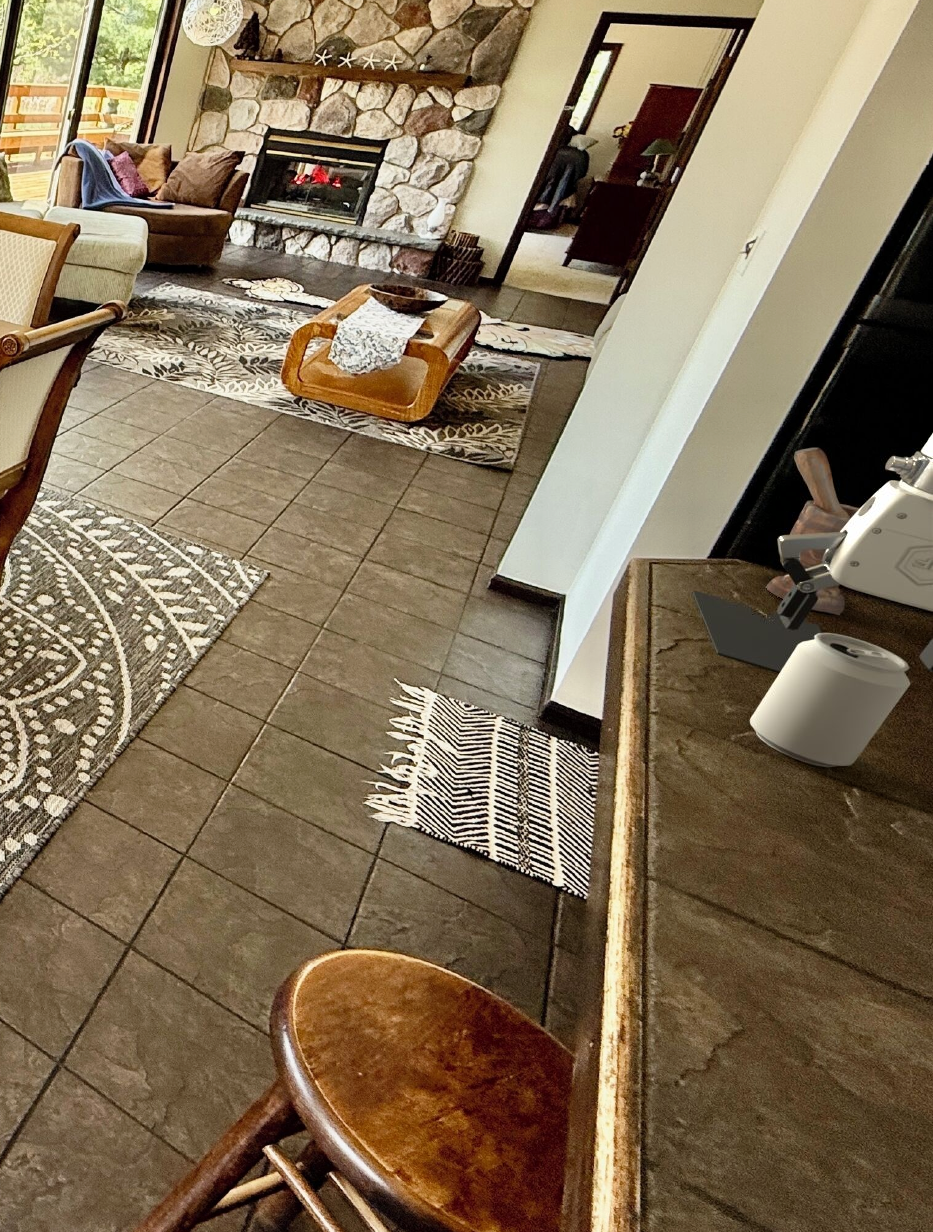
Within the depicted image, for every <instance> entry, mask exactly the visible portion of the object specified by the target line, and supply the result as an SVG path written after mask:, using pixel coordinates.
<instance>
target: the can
mask: <svg viewBox="0 0 933 1232" xmlns="http://www.w3.org/2000/svg"><path fill="white" fill-rule="evenodd" d="M814 637H815V639H814V640H809V641H804V642H801V643H800V644H798V645H797V647H796V649H795V650H794V652H793V653H792V655H791V656H790V658H789V659H788V661H787V663H786V664H785V666H784V667H783V669H782V670H781V672H780V673H779V672H778V673H779V674H778V675H777V677H776V678H775V680H774V682H773V683H772V684H771V686H770V688H769V689H768V690H767V692H766V694H765V695H764V697H763V698H762V700H761V701H760V703H759V704H758V706H757V708H756V709H755V711H754V712H753V714H752V715H751V717H750V718H749V724H750V726H751V727H752V728H753V729H754V731H755V733H756V736H757V737H758V738H759V739H760V740H761V741H762V742H764V743H765V744H766V745H767V746H769V747H770V748H773V750H775V751H777V752H779V753H781V754H784V755H786V756H788V757H790V758H792V759H795V760H797V761H800V762H803V763H806V764H810V765H813V766H816V767H824V768H836V767H844V766H845V767H846V766H847V767H848V766H851V765H853V764H854V763H855V762H856V761H857V759H858V758H859V757H860V755H861V754H862V752H863V751H864V750H865V749H866V747H867V746H868V745H869V743H870V741H871V740H872V738H873V737H874V736H875V734H876V733H877V732H878V730H879V729H880V728H881V726H882V725H883V723H884V722H885V720H886V719H887V718H888V716H889V715H890V714H891V712H892V710H893V709H894V708H895V706H896V705H897V704H898V702H899V701H900V700H901V698H902V697H903V696H904V694H905V693H906V691H907V690H908V688H909V687H910V685H911V682H910V679H909V677H908V676H907V675H906V672H908V670H909V669H910V666H909V663H908V662H907V661H905V660H904V659H903V658H901V657H900V656H899V655H896V654H895V653H893V652H891V651H889V650H887V649H884V648H882V647H880V646H878V645H876V644H873V643H870V642H868V641H865V640H862V639H858V638H855V637H851V636H848V635H844V634H838V633H831V632H822V633H818V634H816V635H815V636H814Z"/></svg>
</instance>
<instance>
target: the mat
mask: <svg viewBox="0 0 933 1232" xmlns="http://www.w3.org/2000/svg"><path fill="white" fill-rule="evenodd" d="M691 592H693V593H692V595H693V598H694V597H695V598H694V600H695V603H696V605H697V608H698V610H699V609H700V610H699V612H700V615H701V617H702V619H703V622H704V623H705V627H706V629H707V632H708V634H709V637H710V639H711V642H712V644H713V647H714V649H715V652H716V654H717V655H719V656H723V657H727V658H729V659H733V660H736V661H740V662H743V663H746V664H748V665H749V664H750V665H753V666H756V667H759V668H762V669H766V670H770V671H772V672H776V673H780V672H781V670H782V669H783V667H784V666H785V664H786V663H787V661H788V659H789V658H790V656H791V655H792V653H793V652H794V650H795V649H796V647H797V645H798V644H800V643H801V642H804V641H809V640H814V639H815V637H814V636H815V635H816V634H818V633H823V631H822V629H821V628H820V626H819V625H818V624H816V623H812V622H810V621H806V620H804V621H803V622H802V624H801V625H800V627H799V628H798V629H797V630H790V629H787V628H785V626H784V624H783V622H782V621H781V619H780V615H778V613H777V614H776V615H774V614H775V613H776V612H774V614H773V615H771V614H772V613H773V611H770V613H771V614H770V615H767V618H764V617H766V615H764V617H763V618H761V617H762V616H763V615H757V614H758V613H759V612H753V611H754V610H751V609H752V607H753V606H752V607H746V606H747V605H748V604H744V603H741V602H737V601H734V602H726V601H727V600H728V601H731V600H730V599H726V598H723V599H721V598H722V597H719V596H716V595H712V594H708V593H705V592H701V591H698V590H694V589H692V590H691ZM709 595H710V596H709ZM717 601H719V602H717ZM723 601H724V602H723ZM736 602H737V603H738V604H736ZM728 603H729V604H728ZM731 603H734V604H731ZM744 605H745V607H742V606H744ZM736 606H737V607H736ZM747 609H750V610H747ZM756 611H758V610H756ZM754 613H756V614H755V615H752V614H754ZM765 613H766V612H765ZM768 613H769V612H768ZM769 617H770V618H769ZM769 619H770V621H768V620H769ZM752 620H753V621H752ZM760 620H761V621H760ZM764 620H765V621H764ZM772 620H773V621H772Z"/></svg>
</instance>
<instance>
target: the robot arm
mask: <svg viewBox="0 0 933 1232" xmlns="http://www.w3.org/2000/svg"><path fill="white" fill-rule="evenodd" d="M884 467H885V470H886V471H891V472H895V473H896V474H898V475H900V476H899V477H900V478H901V479H900V480H889V481H887V482H886V483H885V484H884V485H883V486H882V487H881V488H879V489H878V490H877V491H876V492H875V493H874V494H873V495H872V496H871V497H870V498H869V499H868V500H866V502H865V503H864V504H863V505H862V506H861V507H859V508H860V509H859V510H858V511H857V512H856V513H855V515H854V516H853V517H852V518H851V519H850V520H849V521H848V523H847V524H846V525H845V526H844V527H843V529H842V530H841V531H840V532H834V533H816V534H798V535H790V534H784V535H783V534H782V535H780V536H778V538H777V547H778V554H779V558H780V559H779V562H780V563H781V566H783V568H784V570H785V571H786V573H787V574H789V576H790V577H791V579H792V580H793V582H794V584H793V585H792V587H791V588H790V590H789V591H788V593H787V594H786V596H785V597H784V599H783V600H782V599H781V602H780V603H779V605H778V606H777V609H776V613H777V614H778V615H780V619H781V621H782V622H783V624H784V626H785V628H787V629H790V630H797V629H798V628H799V627H800V625H801V624H802V622H803V621H806V619H807V617H808V615H809V614H810V612H811V611H812V610H811V609H812V608H813V606H814V605H815V603H816V602H817V600H818V597H817V595H816V594H815V593H816V592H817V591H818V590H821V589H825V588H828V587H831V586H835V585H838V584H840V585H842V586H843V587H846V588H848V589H851V590H854V591H857V592H861V593H865V594H868V595H871V596H875V597H879V598H882V599H886V600H889V601H894V602H897V603H900V604H904V605H908V606H911V607H916V608H918V609H923V610H926V611H930V612H933V433H932V434H931V435H930V437H929V438H928V440H927V442H926V443H925V444H924V446H923V447H922V448H921V450H920V451H916V452H915V453H914V455H911V457H908V456H904V457H901V456H896V455H892V456H891V457H890V458H889V459H888V460H887V462H886V463H885V466H884ZM817 549H827V550H826V552H825V554H824V556H823V558H822V563H823V564H820V565H817V566H814V567H810V568H807V569H804V567H803V566H802V564H801V559H800V558H801V557H800V553H801V552H802V551H804V550H817ZM919 659H920V660H921V662H922V663H923V664H924V666H925V667H926V668H927V669H928V670H929V671H930V672H931V673H933V638H932V639H931V640H930V641H929V643H928V644H927V645H926V647H925V648H924V649H923V650H922V652H921V653H920V655H919Z"/></svg>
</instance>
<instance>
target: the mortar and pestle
mask: <svg viewBox="0 0 933 1232" xmlns="http://www.w3.org/2000/svg"><path fill="white" fill-rule="evenodd" d="M793 459H794V462H795V464H796V467H797V470H798V471H799V473H800V475H801V476H802V478H803V481H804V482H805V484H806V485H807V487H808V490H809V492H810V495H811V496H812V498H813V500H807V501H806V503H805V504H804V507H802V508H803V509H802V511H801V512H800V513H799V516H798V519H797V520H796V522H795V523H794V525H793V527H792V529H791V531H790V533H789V535H798V534H816V533H834V532H840V531H841V530H842V529H843V527H844V526H845V525H846V524H847V523H848V521H849V520H850V519H851V518H852V517H853V516H854V515H855V513H856V512H857V511H858V510H859V509H860V508H861V507H855V506H851V505H847V504H841V503H840V502H839V500H838V496H837V493H836V489H835V486H834V481H833V476H832V471H831V467H830V463H829V459H828V457H827V455H826V453H825V452H824V451H823V450H822V449H821V448H820V447H809V448H803V449H799V450H797V451H795V452H794V456H793ZM826 550H827V549H817V550H804V551H802V552H801V553H800V557H801V558H800V559H801V564H802V566H803V567H804V569H807V568H810V567H814V566H817V565H820V564H823V563H822V558H823V556H824V554H825V552H826ZM793 584H794V582H793V580H792V579H791V577H790V576H789V574H788V573H787V574H785V575H782V576H781V575H779V576H775V577H774V578H773V579H771V580H770V581H769V582H768V583H767V585H766V586H765V588H767V590H769V591H770V592H771V593H773V594H774V595H776V596H777V597H776V596H775V597H776V598H778V597H780V598H782V599H784V597H785V596H786V594H787V593H788V591H789V590H790V588H791V587H792V585H793ZM840 585H841V584H838V585H835V586H831V587H828V588H825V589H821V590H818V591H817V592H816V593H815V594H816V595H817V597H818V600H817V602H816V603H815V605H814V606H813V608H812V609H811V611H817V612H822V613H827V614H831V615H836V616H840V615H841V613H843V612H844V610H845V605H846V601H845V597H844V595H842V593H841V590H840ZM771 593H770V594H771ZM774 595H773V596H774ZM780 598H779V599H780ZM782 599H781V600H782Z"/></svg>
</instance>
